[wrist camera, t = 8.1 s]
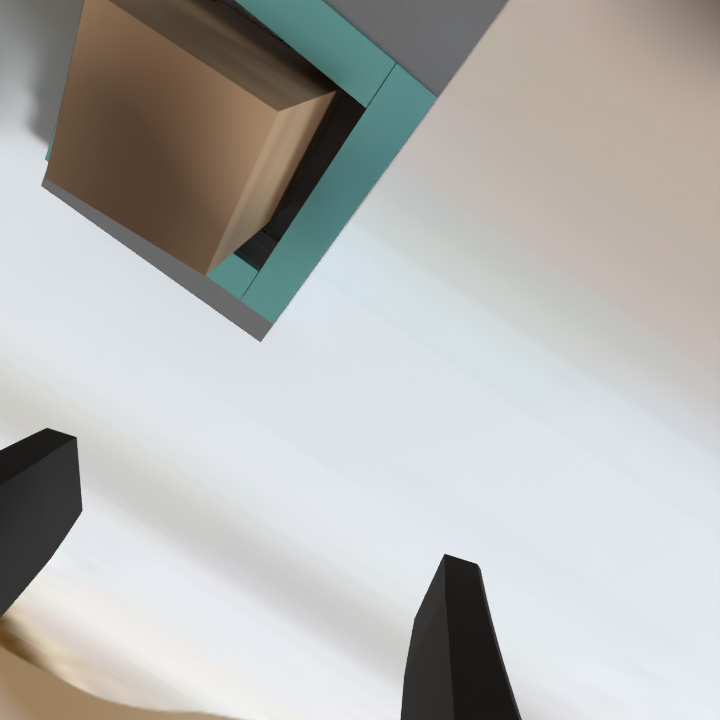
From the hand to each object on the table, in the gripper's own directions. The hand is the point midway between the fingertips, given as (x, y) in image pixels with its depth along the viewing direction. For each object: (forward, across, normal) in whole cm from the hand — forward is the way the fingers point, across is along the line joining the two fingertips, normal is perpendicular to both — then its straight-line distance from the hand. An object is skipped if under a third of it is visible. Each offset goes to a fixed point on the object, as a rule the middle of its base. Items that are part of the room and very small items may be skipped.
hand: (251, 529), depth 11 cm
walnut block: (+10, +4, -5) cm, 12 cm away
